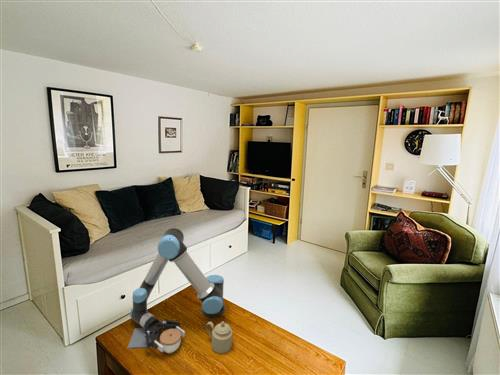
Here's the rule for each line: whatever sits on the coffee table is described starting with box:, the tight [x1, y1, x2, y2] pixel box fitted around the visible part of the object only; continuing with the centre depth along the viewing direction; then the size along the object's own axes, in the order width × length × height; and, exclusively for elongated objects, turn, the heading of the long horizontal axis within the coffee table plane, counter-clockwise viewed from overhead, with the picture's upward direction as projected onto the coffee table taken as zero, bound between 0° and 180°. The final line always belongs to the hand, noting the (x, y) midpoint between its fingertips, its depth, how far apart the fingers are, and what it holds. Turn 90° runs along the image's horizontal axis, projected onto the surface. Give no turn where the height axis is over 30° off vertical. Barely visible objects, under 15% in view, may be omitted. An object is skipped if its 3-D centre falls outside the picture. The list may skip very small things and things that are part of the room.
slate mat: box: [127, 327, 160, 350], centre depth 144 cm, size 14×14×1 cm
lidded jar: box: [159, 329, 182, 354], centre depth 137 cm, size 11×11×9 cm
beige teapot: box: [205, 320, 233, 354], centre depth 141 cm, size 15×11×15 cm
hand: (173, 341), depth 135 cm, fingers open, 13 cm apart
